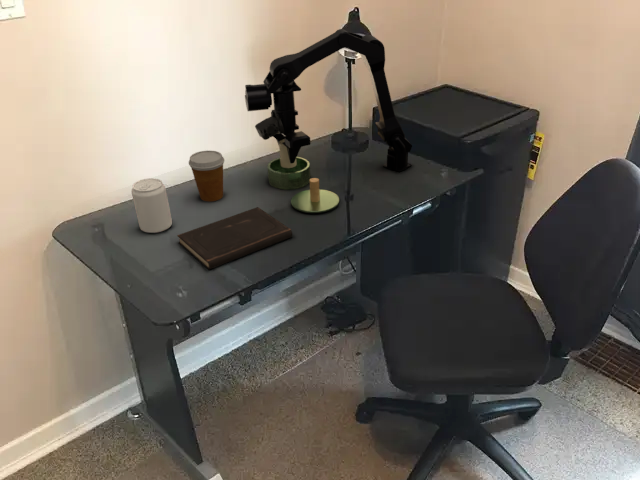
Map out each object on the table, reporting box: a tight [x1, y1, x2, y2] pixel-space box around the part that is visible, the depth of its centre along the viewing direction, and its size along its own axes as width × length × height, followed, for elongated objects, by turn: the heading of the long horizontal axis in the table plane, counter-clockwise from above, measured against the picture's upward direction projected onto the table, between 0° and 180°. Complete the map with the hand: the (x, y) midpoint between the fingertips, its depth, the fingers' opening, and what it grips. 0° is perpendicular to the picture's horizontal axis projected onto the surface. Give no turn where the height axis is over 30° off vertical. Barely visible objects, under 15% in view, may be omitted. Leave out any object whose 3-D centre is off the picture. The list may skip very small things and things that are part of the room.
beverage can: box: [131, 177, 173, 234], centre depth 154 cm, size 8×8×12 cm
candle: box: [278, 139, 297, 168], centre depth 175 cm, size 5×5×7 cm
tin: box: [266, 156, 312, 191], centre depth 179 cm, size 12×12×5 cm
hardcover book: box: [177, 206, 293, 271], centre depth 151 cm, size 16×23×2 cm
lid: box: [290, 177, 340, 214], centre depth 166 cm, size 13×13×7 cm
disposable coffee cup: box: [188, 150, 225, 202], centre depth 168 cm, size 10×10×12 cm
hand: (288, 160), depth 176 cm, fingers closed on candle, 4 cm apart
